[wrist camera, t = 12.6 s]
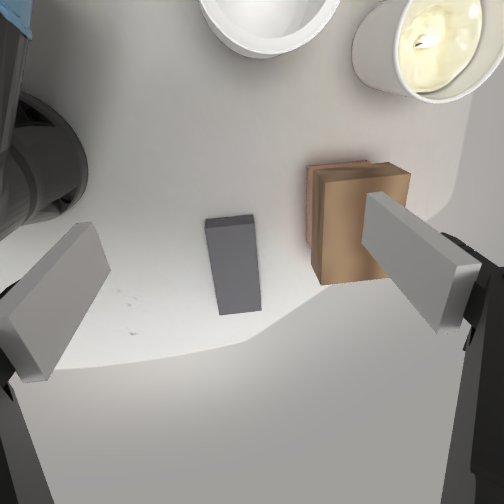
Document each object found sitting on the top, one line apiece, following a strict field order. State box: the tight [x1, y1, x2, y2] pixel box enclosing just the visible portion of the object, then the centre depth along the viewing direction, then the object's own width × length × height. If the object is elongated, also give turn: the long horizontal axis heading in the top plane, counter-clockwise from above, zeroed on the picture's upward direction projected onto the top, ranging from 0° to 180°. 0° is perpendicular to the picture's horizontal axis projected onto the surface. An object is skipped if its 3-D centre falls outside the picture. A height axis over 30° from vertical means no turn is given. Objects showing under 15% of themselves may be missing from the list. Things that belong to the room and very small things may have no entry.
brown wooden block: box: [311, 162, 411, 285], centre depth 37 cm, size 9×13×5 cm
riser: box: [205, 215, 262, 315], centre depth 46 cm, size 7×15×3 cm, turn 4°
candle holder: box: [352, 0, 504, 104], centre depth 30 cm, size 10×10×12 cm
